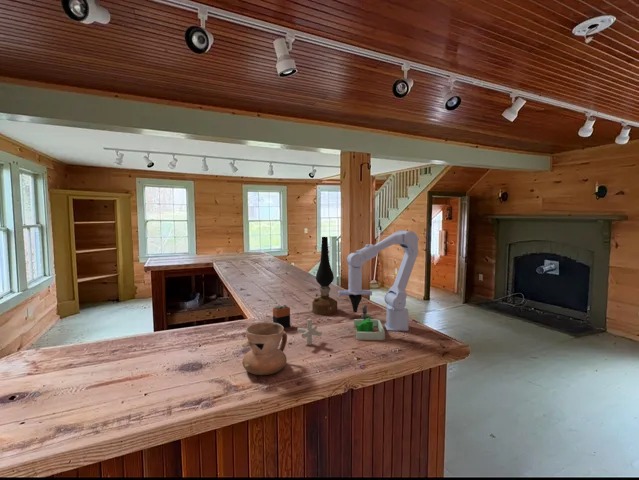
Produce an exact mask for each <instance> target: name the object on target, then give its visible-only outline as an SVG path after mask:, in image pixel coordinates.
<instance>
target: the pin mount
mask: <svg viewBox="0 0 639 480" xmlns="http://www.w3.org/2000/svg"><path fill="white" fill-rule="evenodd" d="M364 318H370V319H372V315H371V314H369V313H368V314H367V313H366V314H363V313H362V314H360V319H364Z"/></svg>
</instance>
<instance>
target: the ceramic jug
mask: <svg viewBox="0 0 639 480" xmlns="http://www.w3.org/2000/svg"><path fill="white" fill-rule="evenodd" d="M245 334H246V338H247V341H244V342H242V343H241V347H242V348H244V349H246V348H248V347H250V348H251V349H250V350H249V351H247V352H246V353H245V354H244V355H243V358H242V367H243V368H244V370H245V371H246V372H248V373H250V374H252V375H255V376H268V375H272V374H276V373H278V372H280V371H281V370H282V369H284V368H285V366H286V364H287V360H288V359H287V356H286V354H285V352H284V350H285V348H286V345H287V342H288V334H287V332H286V331H285V328H284V327H283V326H282V325H281V324H279V323H274V322H273V321H270V322H269V321H263V322H262V321H261V322H257V323H255V322H254V323H252V324H250V325H249V326H247V327H246V328H245Z"/></svg>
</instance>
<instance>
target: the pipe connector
mask: <svg viewBox="0 0 639 480" xmlns="http://www.w3.org/2000/svg"><path fill="white" fill-rule="evenodd" d="M312 324H313V323H312V318H307V320H306V328H303V327H297V330H296V331H297V333H301V337H302V339H306V341H307V342H306V343H307V345H308V346H312V344H313V339H312V338H313V336H318V337H322V334H323V331H321V330H317V329H318V327H317V325H312Z"/></svg>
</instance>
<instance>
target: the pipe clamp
mask: <svg viewBox="0 0 639 480" xmlns="http://www.w3.org/2000/svg"><path fill="white" fill-rule="evenodd" d="M356 332H374V326H373V321H370V318H367V319H366V320H364V321H363V322H361V323H360V324H358V325H357V326H356Z"/></svg>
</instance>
